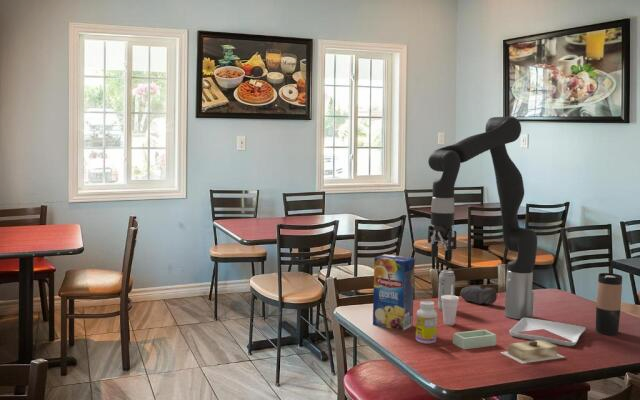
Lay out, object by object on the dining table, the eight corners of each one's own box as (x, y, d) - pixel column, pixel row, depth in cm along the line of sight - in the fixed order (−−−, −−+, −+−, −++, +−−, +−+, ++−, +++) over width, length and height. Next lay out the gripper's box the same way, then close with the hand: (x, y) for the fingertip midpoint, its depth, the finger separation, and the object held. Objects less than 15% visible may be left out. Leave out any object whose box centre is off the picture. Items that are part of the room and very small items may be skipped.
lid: (542, 349, 199) (542, 336, 199) (556, 355, 193) (557, 342, 193) (507, 353, 194) (508, 340, 194) (521, 360, 188) (522, 347, 188)
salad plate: (522, 325, 229) (523, 316, 229) (586, 335, 218) (586, 325, 218) (507, 341, 211) (507, 331, 211) (575, 353, 200) (576, 342, 200)
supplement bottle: (413, 337, 212) (414, 299, 210) (433, 337, 212) (434, 299, 211) (418, 344, 205) (419, 305, 204) (438, 344, 206) (440, 305, 204)
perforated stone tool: (457, 300, 260) (457, 284, 260) (463, 298, 264) (464, 281, 264) (491, 307, 251) (492, 290, 250) (497, 305, 255) (498, 288, 254)
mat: (541, 350, 201) (542, 346, 201) (564, 361, 192) (565, 357, 192) (499, 356, 195) (500, 352, 195) (521, 367, 186) (521, 363, 186)
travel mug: (617, 330, 224) (621, 274, 222) (620, 336, 217) (624, 278, 215) (593, 327, 227) (597, 272, 225) (595, 333, 219) (599, 276, 217)
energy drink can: (455, 312, 243) (456, 273, 242) (439, 311, 243) (440, 273, 242) (452, 307, 249) (453, 270, 248) (436, 307, 249) (438, 269, 248)
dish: (484, 342, 208) (484, 329, 207) (495, 348, 202) (496, 334, 202) (452, 346, 203) (453, 333, 203) (463, 353, 198) (464, 338, 197)
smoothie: (458, 327, 225) (459, 287, 223) (439, 325, 226) (441, 286, 224) (458, 321, 231) (459, 283, 229) (440, 320, 232) (441, 282, 231)
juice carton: (412, 325, 225) (415, 258, 223) (403, 330, 219) (405, 261, 217) (382, 319, 232) (384, 254, 229) (372, 324, 226) (374, 257, 223)
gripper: (464, 213, 206) (462, 262, 208) (441, 208, 220) (439, 254, 221) (444, 213, 204) (442, 264, 205) (421, 208, 217) (420, 255, 219)
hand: (441, 259), depth 213 cm, fingers open, 8 cm apart
